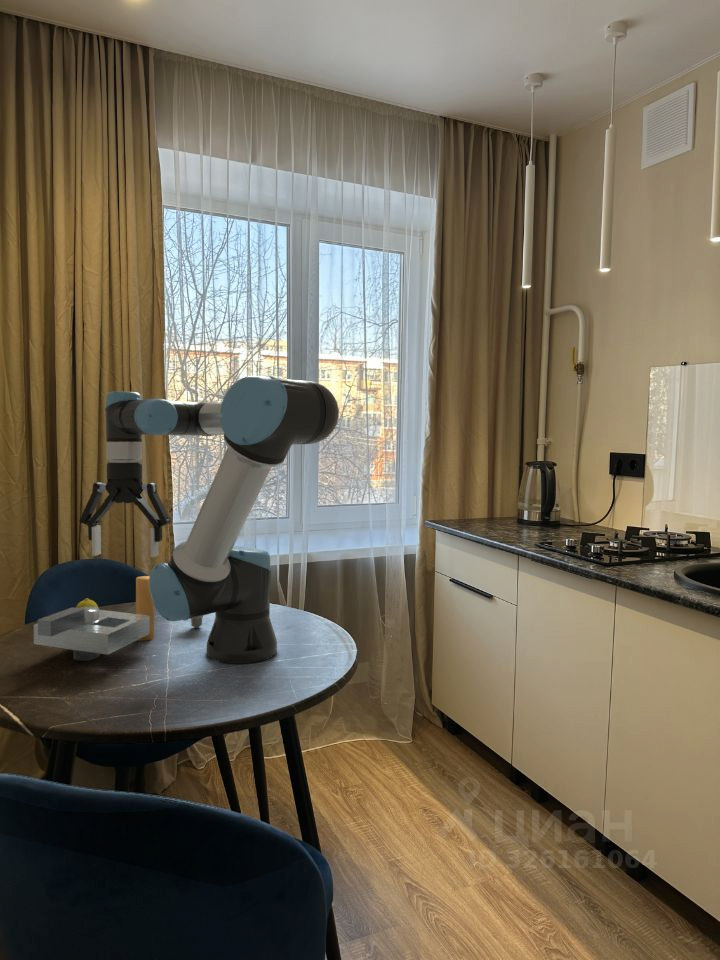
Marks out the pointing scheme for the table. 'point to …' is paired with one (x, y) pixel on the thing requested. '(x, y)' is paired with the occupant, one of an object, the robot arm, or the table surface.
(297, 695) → the table surface
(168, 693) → the table surface
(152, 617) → the pin
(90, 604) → the lemon
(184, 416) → the robot arm
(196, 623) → the lightbulb
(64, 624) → the gray rectangular tray
